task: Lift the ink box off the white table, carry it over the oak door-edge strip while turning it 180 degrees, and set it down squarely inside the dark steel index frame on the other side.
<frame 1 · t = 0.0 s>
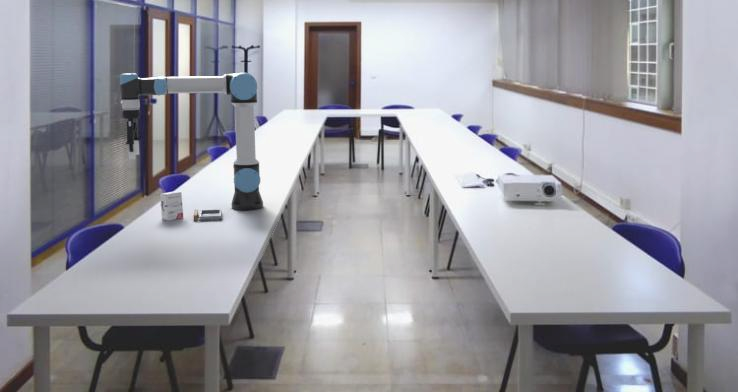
hand: (134, 156, 317), 28 cm above the table, fingers open, 13 cm apart
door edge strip: (196, 217, 322), on the table
index frame: (210, 217, 324), on the table
ink box: (172, 218, 322), on the table
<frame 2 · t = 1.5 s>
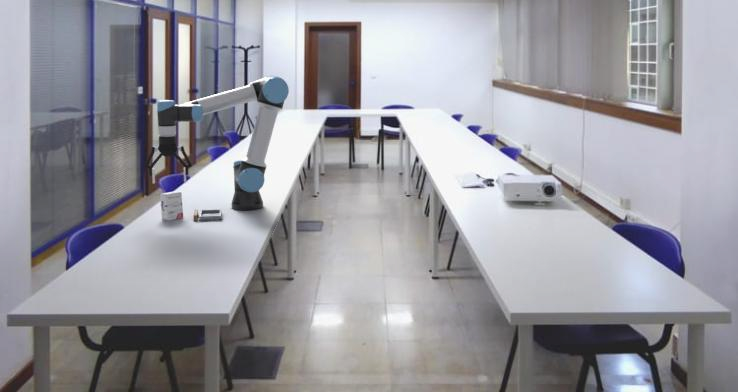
hand: (169, 182, 318), 16 cm above the table, fingers open, 13 cm apart
nothing on the table moved.
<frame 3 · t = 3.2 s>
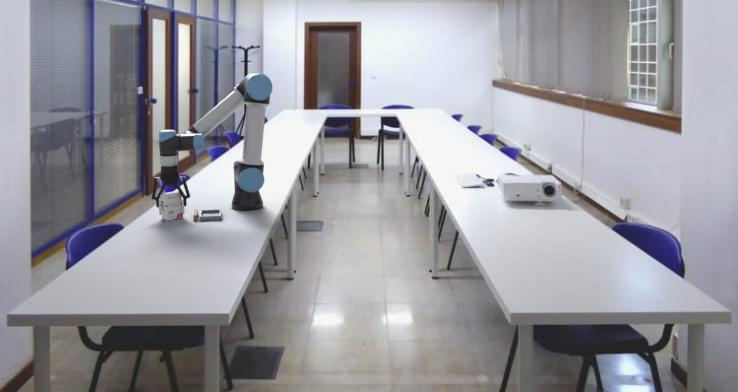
hand: (172, 213, 321), 2 cm above the table, fingers closed on ink box, 9 cm apart
ink box: (172, 218, 321), on the table, touching gripper
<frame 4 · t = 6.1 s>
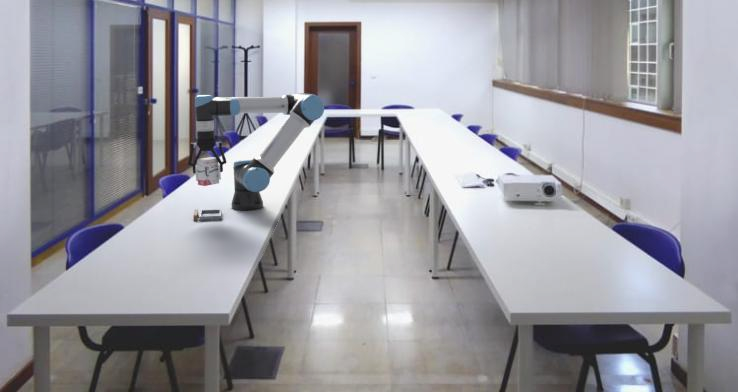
hand: (208, 179, 320), 17 cm above the table, fingers closed on ink box, 9 cm apart
ink box: (209, 184, 321), point 15 cm above the table, touching gripper
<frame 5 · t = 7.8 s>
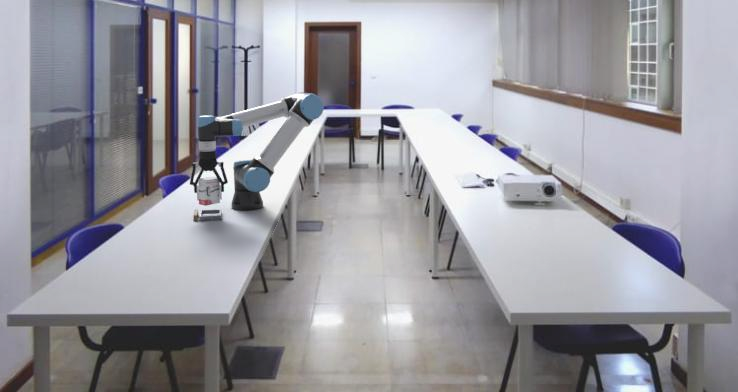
hand: (209, 199, 322), 8 cm above the table, fingers closed on ink box, 9 cm apart
ink box: (209, 204, 322), point 6 cm above the table, touching gripper
when the fingers open (4 cm above the table, at t = 9.1 s): ink box stays where it is, resting on index frame.
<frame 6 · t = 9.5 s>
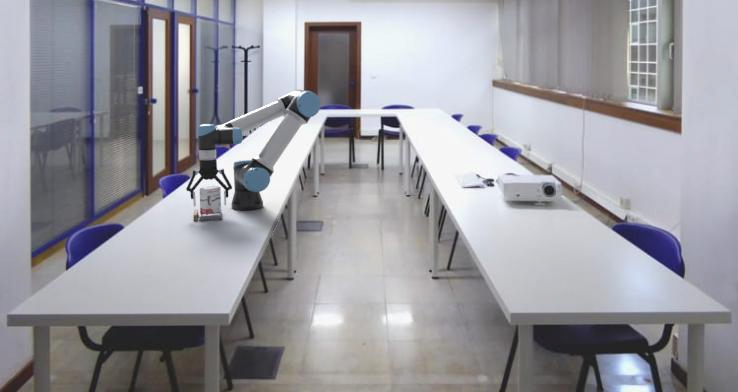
hand: (210, 205, 323), 5 cm above the table, fingers open, 13 cm apart
ink box: (211, 213, 323), point 2 cm above the table, touching index frame
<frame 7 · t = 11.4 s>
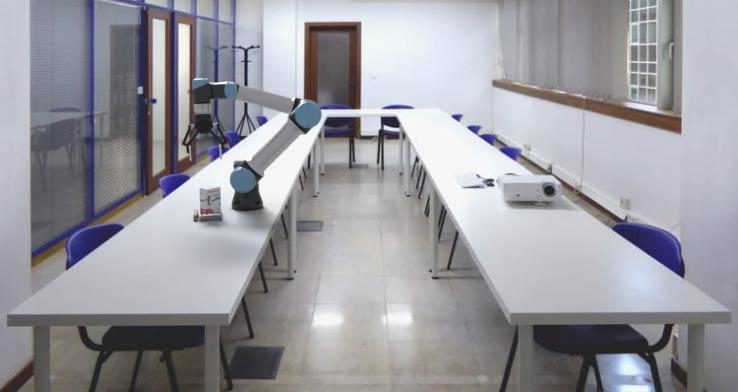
hand: (205, 159, 325), 26 cm above the table, fingers open, 13 cm apart
nothing on the table moved.
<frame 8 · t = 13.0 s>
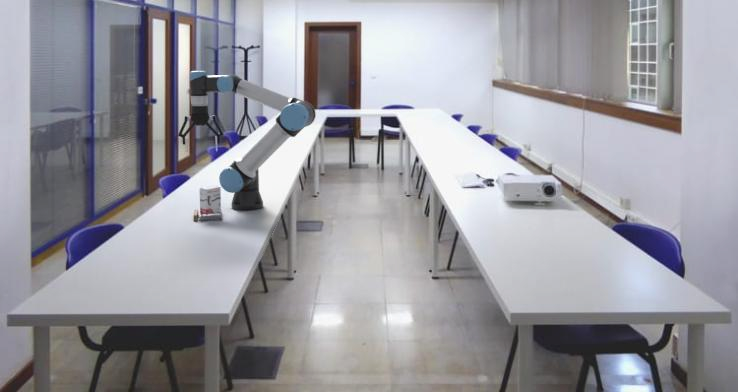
hand: (201, 151, 329), 29 cm above the table, fingers open, 13 cm apart
nothing on the table moved.
at the end: ink box inside the target area on the index frame (0.2 cm from its centre), point 1.8 cm above the index frame's base; ink box tilted 0°; the gripper is holding nothing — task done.
